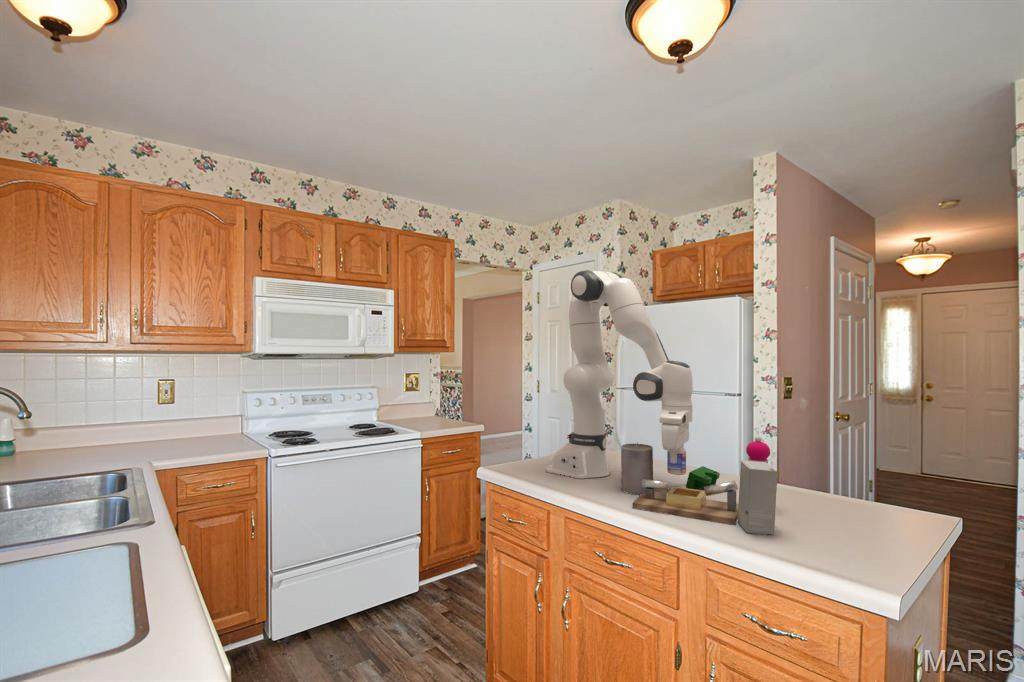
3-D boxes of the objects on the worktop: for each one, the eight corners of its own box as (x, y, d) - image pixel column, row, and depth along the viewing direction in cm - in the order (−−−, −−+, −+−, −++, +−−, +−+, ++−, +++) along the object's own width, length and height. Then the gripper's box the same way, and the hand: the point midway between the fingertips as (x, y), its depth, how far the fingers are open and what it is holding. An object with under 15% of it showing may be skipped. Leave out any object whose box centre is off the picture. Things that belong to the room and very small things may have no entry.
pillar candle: (636, 484, 162) (635, 438, 162) (660, 491, 154) (659, 442, 154) (614, 489, 157) (614, 441, 157) (638, 497, 148) (638, 446, 149)
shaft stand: (632, 508, 138) (632, 474, 138) (646, 495, 150) (646, 464, 150) (734, 525, 125) (734, 487, 125) (741, 509, 137) (740, 475, 137)
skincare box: (736, 522, 127) (736, 459, 127) (767, 523, 126) (766, 460, 126) (746, 534, 118) (746, 467, 119) (779, 536, 117) (778, 468, 118)
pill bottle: (685, 476, 147) (686, 443, 147) (666, 474, 149) (666, 441, 149) (686, 471, 152) (686, 439, 152) (667, 470, 154) (667, 438, 154)
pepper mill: (746, 502, 143) (746, 432, 143) (775, 507, 139) (774, 435, 139) (741, 509, 137) (741, 436, 138) (771, 514, 133) (770, 439, 133)
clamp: (703, 506, 154) (705, 483, 150) (685, 497, 158) (686, 475, 154) (719, 484, 162) (722, 462, 158) (702, 477, 165) (703, 455, 162)
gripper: (673, 410, 161) (673, 453, 161) (657, 417, 144) (657, 465, 143) (694, 411, 158) (693, 455, 158) (680, 419, 140) (680, 468, 140)
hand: (676, 460), depth 150 cm, fingers closed on pill bottle, 5 cm apart
